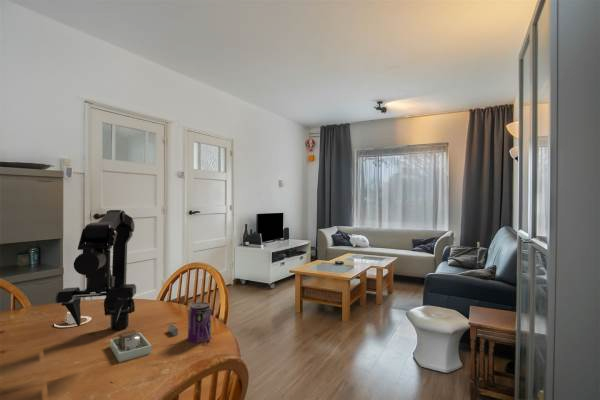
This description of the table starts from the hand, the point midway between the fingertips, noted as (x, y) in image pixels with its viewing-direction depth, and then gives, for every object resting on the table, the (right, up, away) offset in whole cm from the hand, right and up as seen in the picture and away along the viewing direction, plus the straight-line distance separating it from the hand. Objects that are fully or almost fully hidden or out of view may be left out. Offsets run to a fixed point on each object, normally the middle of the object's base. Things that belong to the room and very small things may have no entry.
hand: (97, 323), depth 91 cm
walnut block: (+4, -10, +8) cm, 14 cm away
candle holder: (-29, -12, +32) cm, 45 cm away
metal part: (+8, -10, +4) cm, 13 cm away
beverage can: (+24, -12, +14) cm, 31 cm away
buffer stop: (+14, -12, +19) cm, 26 cm away
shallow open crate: (+6, -11, +6) cm, 14 cm away
